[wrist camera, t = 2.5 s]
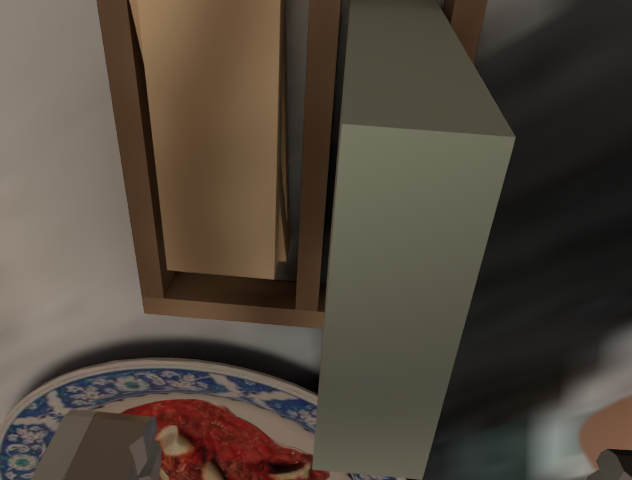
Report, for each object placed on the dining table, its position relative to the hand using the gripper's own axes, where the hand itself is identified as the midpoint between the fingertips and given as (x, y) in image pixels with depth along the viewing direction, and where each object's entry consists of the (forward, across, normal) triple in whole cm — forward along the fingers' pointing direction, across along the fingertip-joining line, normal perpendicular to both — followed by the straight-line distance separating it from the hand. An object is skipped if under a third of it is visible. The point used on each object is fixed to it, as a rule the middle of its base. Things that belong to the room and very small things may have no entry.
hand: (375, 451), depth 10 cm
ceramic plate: (+16, +7, +25) cm, 30 cm away
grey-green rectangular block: (+15, -1, 0) cm, 15 cm away
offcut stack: (+15, +5, 0) cm, 16 cm away
